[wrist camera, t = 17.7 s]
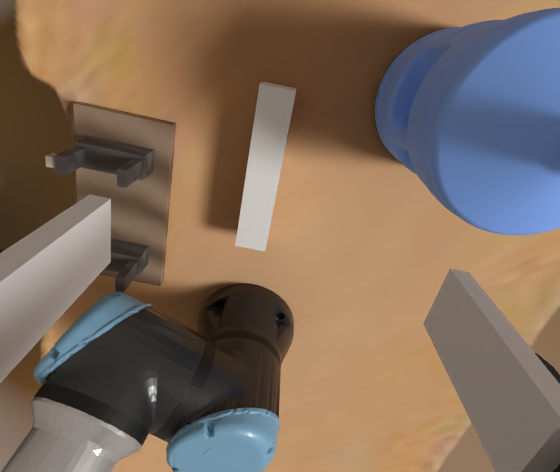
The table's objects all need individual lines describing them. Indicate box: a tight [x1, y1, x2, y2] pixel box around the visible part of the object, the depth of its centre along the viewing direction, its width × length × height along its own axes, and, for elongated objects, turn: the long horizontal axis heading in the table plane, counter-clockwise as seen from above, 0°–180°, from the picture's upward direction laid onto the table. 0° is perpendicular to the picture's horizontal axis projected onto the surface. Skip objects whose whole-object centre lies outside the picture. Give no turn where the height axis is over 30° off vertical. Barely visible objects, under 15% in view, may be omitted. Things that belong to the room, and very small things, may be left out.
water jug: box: [375, 8, 560, 235], centre depth 31 cm, size 16×16×28 cm
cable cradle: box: [45, 102, 176, 292], centre depth 46 cm, size 24×12×10 cm, turn 168°
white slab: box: [235, 82, 296, 251], centre depth 46 cm, size 20×4×5 cm, turn 169°
